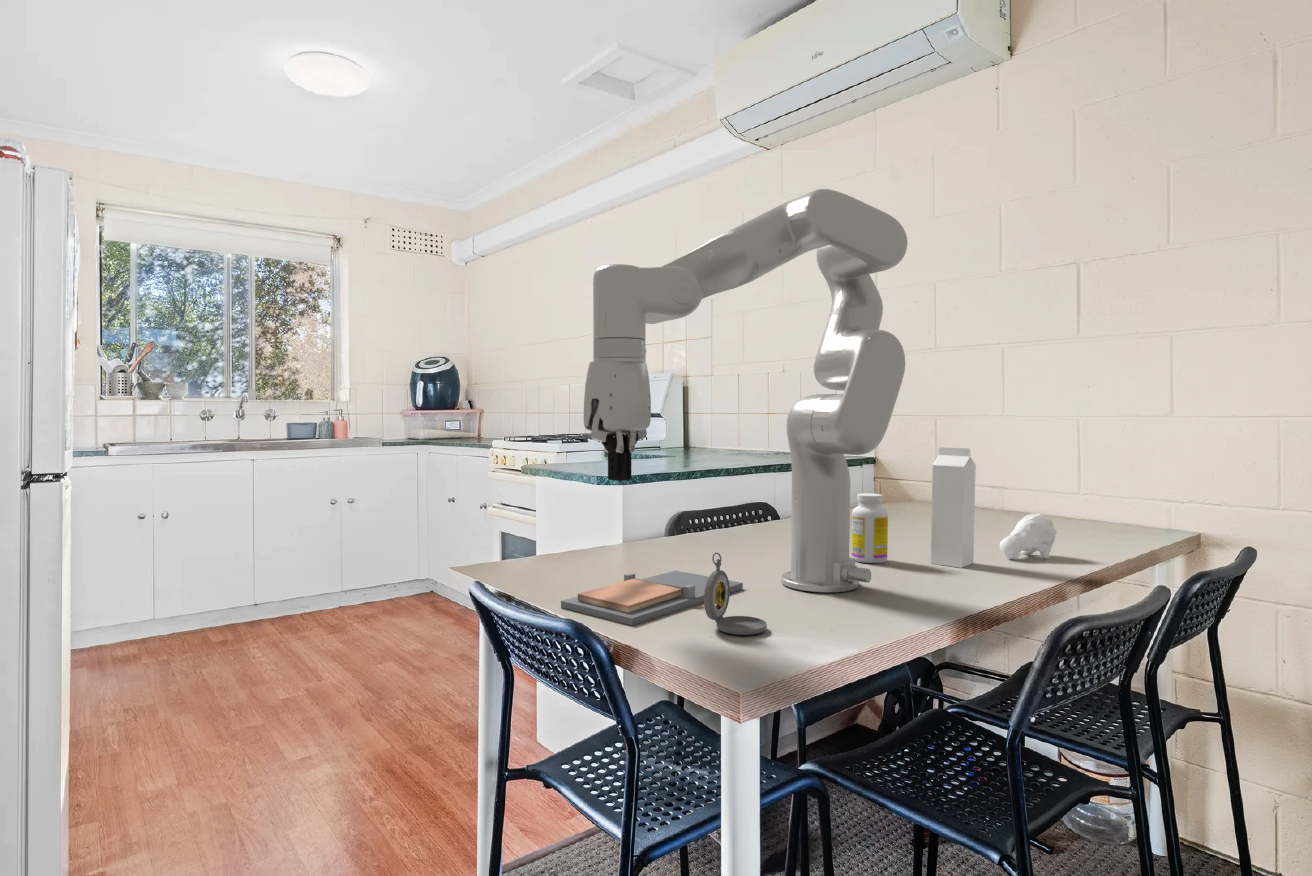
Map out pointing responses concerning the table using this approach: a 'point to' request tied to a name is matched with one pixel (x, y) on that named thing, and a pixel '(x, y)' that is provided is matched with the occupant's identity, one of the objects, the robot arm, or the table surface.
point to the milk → (953, 508)
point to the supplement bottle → (869, 529)
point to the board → (691, 596)
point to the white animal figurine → (1030, 537)
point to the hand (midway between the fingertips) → (619, 479)
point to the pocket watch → (719, 595)
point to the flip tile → (630, 595)
